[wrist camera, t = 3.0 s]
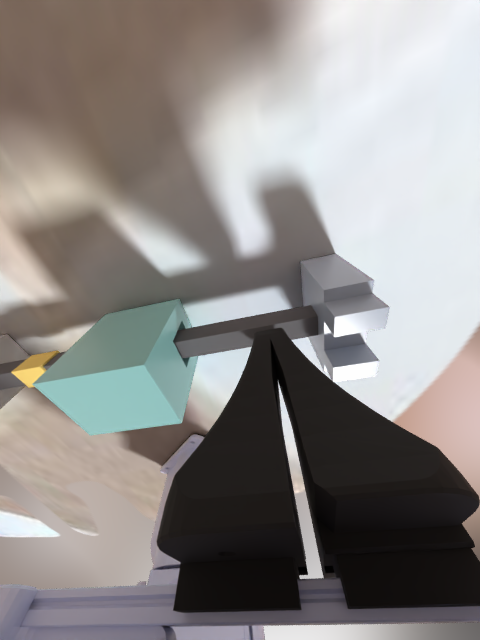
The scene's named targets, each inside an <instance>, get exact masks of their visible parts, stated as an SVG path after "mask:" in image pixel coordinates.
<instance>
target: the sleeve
mask: <svg viewBox="0 0 480 640" xmlns="http://www.w3.org/2000/svg"><path fill="white" fill-rule="evenodd" d="M187 328H192V327H191V325H190V322H189V320H188V318H187V315H186V313H185V311H184V308H183V306H182V304H181V301H180V299H176V300H171V301H167V302H162V303H157V304H152V305H147V306H143V307H138V308H133V309H128V310H123V311H119V312H114V313H109V314H105V315H104V316H103V317H102V318H101V319H100V320H99V321H98V322H97V323H96V324H95V325H94V326H93V327H92V328H91V329H90V330H89V331H88V332H87V333H85V334H84V335H83V336H82V337H81V338H80V339H79V340H78V341H77V342H76V343H75V344H74V345H73V346H72V347H71V348H70V349H69V350H68V351H67V352H66V353H64V354H63V355H62V356H61V357H60V358H59V359H58V360H57V361H56V362H55V363H54V364H53V365H52V366H51V367H50V368H49V369H48V370H47V371H46V372H44V373H43V374H42V375H41V376H40V377H39V378H38V379H37V380H36V381H35V382H34V383H33V384H32V385H34V386H35V387H36V388H37V389H38V390H39V391H40V392H41V393H43V394H44V395H45V396H46V397H47V398H48V399H49V400H51V401H52V402H53V403H54V404H55V405H56V406H57V407H58V408H60V409H61V410H62V411H63V412H64V413H65V414H66V415H68V416H69V417H70V418H71V419H72V420H73V421H74V422H75V423H77V424H78V425H79V426H80V427H81V428H82V429H83V430H85V431H86V432H87V433H88V434H89V435H97V434H105V433H112V432H120V431H127V430H135V429H142V428H149V427H157V426H164V425H172V424H179V423H182V421H183V417H184V413H185V409H186V405H187V400H188V396H189V392H190V388H191V384H192V380H193V376H194V372H195V368H196V363H197V359H198V356H194V357H188V358H183V359H182V358H181V356H180V354H179V352H178V350H177V348H176V346H175V344H174V342H173V340H174V337H175V335H176V333H177V331H178V330H182V329H187Z"/></svg>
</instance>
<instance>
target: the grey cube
mask: <svg viewBox="0 0 480 640" xmlns="http://www.w3.org/2000/svg"><path fill="white" fill-rule="evenodd" d="M29 357H30V355H28V354H27V353H26V352H25V351H24V350H23V349H22V348H21V347H20V346H19V345H18V344H17V343H16V342H15V341H14V340H13V339H12V338H11V337H10V336H9V335H8V334H5V335H0V364H3V363H8V362H14V361H19V360H24V359H28V358H29ZM24 387H25V386H21V387H15V388H9V389H3V390H0V409H1V408H2V407H3V406H4V405H5V404H6V403H7V402H9V401H10V400H11V399H12V398H13V397H14V396H15V395H16V394H17V393H18V392H19V391H20V390H21V389H23V388H24Z"/></svg>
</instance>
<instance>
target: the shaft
mask: <svg viewBox="0 0 480 640" xmlns="http://www.w3.org/2000/svg"><path fill="white" fill-rule="evenodd" d="M276 328H283V329H284V331H285V332H286V334H287V335H288V337H289V338H290V339H291V340H293V339H298V338H304V337H310V336H316V335H318V316H317V314H316V312H315V311H314V309H313V307H312V306H311V305H308V306H303V307H298V308H293V309H287V310H282V311H277V312H272V313H266V314H261V315H256V316H250V317H245V318H240V319H235V320H229V321H224V322H219V323H214V324H208V325H203V326H198V327H193V328H187V329H182V330H178V331H177V333H176V335H175V337H174V340H173V342H174V344H175V346H176V348H177V350H178V352H179V354H180V356H181V358H182V359H183V358H188V357H194V356H200V355H206V354H212V353H217V352H223V351H229V350H235V349H241V348H246V347H252V345H253V340H254V334H255V333H256V332H259V331H265V330H270V329H276ZM66 352H67V351H66ZM66 352H61V353H60V352H59V351H53V352H47V353H42V354H37V355H32V356H30V357H29V358H28V359H24V360H19V361H14V362H8V363H3V364H0V390H3V389H9V388H15V387H21V386H28V387H29V388H31V387H35V386H34V385H32V384H33V383H34V382H35V381H36V380H37V379H38V378H39V377H40V376H41V375H42V374H43V373H44V372H46V371H47V370H48V369H49V368H50V367H51V366H52V365H53V364H54V363H55V362H56V361H57V360H58V359H59V358H60V357H61V356H62V355H63V354H64V353H66Z"/></svg>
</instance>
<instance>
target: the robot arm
mask: <svg viewBox="0 0 480 640" xmlns="http://www.w3.org/2000/svg"><path fill="white" fill-rule="evenodd" d="M278 382H279V385H280V388H281V392H282V395H283V398H284V402H285V405H286V408H287V411H288V415H289V418H290V421H291V425H292V429H293V433H294V438H295V442H296V447H297V452H298V457H299V461H300V466H301V471H302V476H303V480H304V485H305V490H306V495H307V499H308V504H309V509H310V514H311V518H312V524H313V528H314V533H315V538H316V543H317V548H318V553H319V557H320V562H321V566H322V572H323V576H324V578H322V579H321V578H319V579H300V578H299V575H308V572H307V566H306V561H305V559H306V556H305V551H304V546H303V540H302V534H301V529H300V523H299V518H298V512H297V507H296V501H295V496H294V490H293V485H292V479H291V474H290V468H289V463H288V457H287V451H286V446H285V440H284V435H283V428H282V419H281V409H280V398H279V388H278ZM160 471H161V472H162V473H165V474H167V478H166V482H165V486H164V489H163V493H162V497H161V501H160V505H159V509H158V513H157V517H156V521H155V526H154V529H153V533H152V539H151V555H152V560H153V564H154V565H153V569H152V570H151V571H150V575H149V579H148V584H147V585H146V582H145V581H140V582H139V583H138V584H137V586H114V587H91V588H90V587H89V588H63V589H39V590H37V589H36V587H31V586H26V585H16V584H5V585H0V640H265V636H264V627H263V626H264V625H332V624H333V625H335V624H336V625H337V624H404V623H405V624H406V623H407V624H408V623H476V622H477V623H480V561H479V560H478V558H477V557H476V555H475V554H474V552H473V551H472V549H471V548H473V547H475V545H474V542H473V540H472V539H471V537H470V536H469V534H468V533H467V531H466V530H465V528H464V527H463V525H462V523H463V521H465V520H466V519H467V518H468V517H469V516H471V515H472V514H473V513H474V512H475V511H476V509H477V508H478V507H479V503H480V500H479V496H478V495H477V493H476V492H475V491H474V489H473V488H472V487H471V486H470V484H469V483H468V482H467V480H466V479H465V478H464V477H463V475H462V474H461V473H460V472H459V471H458V470H457V468H456V467H455V466H454V465H453V464H452V463H451V462H450V461H449V460H448V458H447V457H446V456H445V455H444V454H443V453H442V452H441V451H440V450H439V449H438V448H437V447H436V446H434V445H432V444H430V443H428V442H427V441H424V440H423V439H421V438H419V437H417V436H416V435H414V434H412V433H410V432H408V431H407V430H405V429H403V428H401V427H400V426H398V425H396V424H394V423H393V422H391V421H390V420H388V419H386V418H385V417H383V416H382V415H380V414H378V413H377V412H375V411H373V410H372V409H371V408H369V407H368V406H366V405H365V404H363V403H362V402H360V401H359V400H357V399H356V398H354V397H353V396H351V395H350V394H349V393H347V392H346V391H345V390H343V389H342V388H341V387H339V386H338V385H337V384H335V383H334V382H333V381H332V380H331V379H329V378H328V377H327V376H326V375H325V374H323V373H322V372H321V371H320V370H319V369H318V368H317V367H316V366H315V365H314V364H313V363H311V362H310V361H309V360H308V359H307V358H306V357H305V355H304V354H303V353H302V352H301V351H300V350H299V349H298V348H297V347H296V346H295V344H294V343H293V342H292V341H291V339H290V338H289V337H288V335H287V334H286V332H285V331H284V329H283V328H276V329H270V330H265V331H259V332H256V333H255V334H254V340H253V345H252V348H251V352H250V355H249V358H248V361H247V364H246V366H245V369H244V371H243V373H242V376H241V378H240V380H239V383H238V385H237V387H236V389H235V391H234V392H233V394H232V396H231V398H230V400H229V401H228V403H227V405H226V407H225V408H224V410H223V412H222V413H221V415H220V416H219V418H218V419H217V421H216V422H215V424H214V425H213V426H212V428H211V429H210V431H209V432H208V433H207V435H206V436H205V437H203V436H200V435H196V434H193V435H191V436H190V437H189V438H188V439H187V440H186V441H185V443H184V444H183V445H182V446H181V447H180V448H179V449H178V450H177V451H176V452H175V453H174V454H173V455H172V456H171V457H170V459H169V460H168V461H167V462H166V463H165V464H164V465H163V466H162V467H161V470H160Z"/></svg>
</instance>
